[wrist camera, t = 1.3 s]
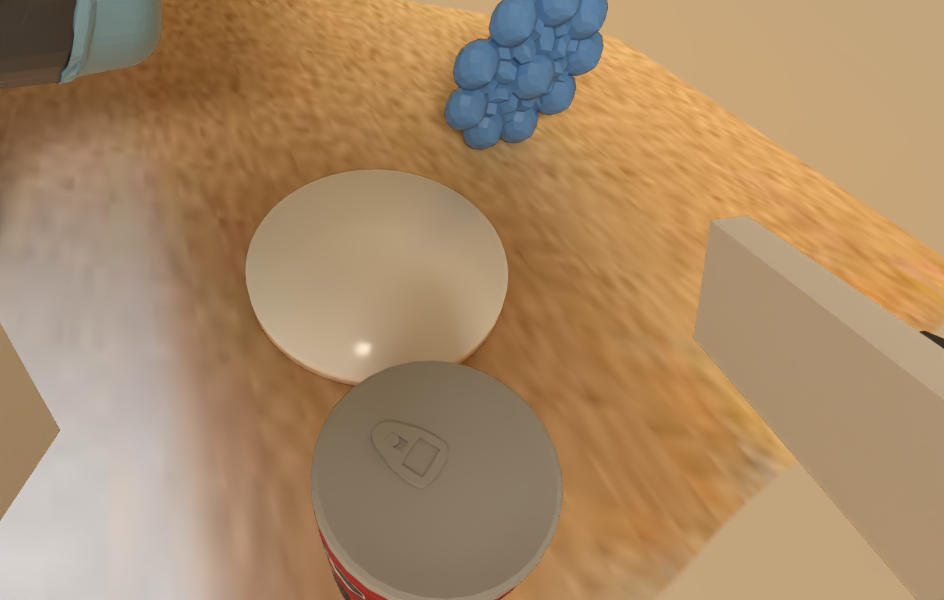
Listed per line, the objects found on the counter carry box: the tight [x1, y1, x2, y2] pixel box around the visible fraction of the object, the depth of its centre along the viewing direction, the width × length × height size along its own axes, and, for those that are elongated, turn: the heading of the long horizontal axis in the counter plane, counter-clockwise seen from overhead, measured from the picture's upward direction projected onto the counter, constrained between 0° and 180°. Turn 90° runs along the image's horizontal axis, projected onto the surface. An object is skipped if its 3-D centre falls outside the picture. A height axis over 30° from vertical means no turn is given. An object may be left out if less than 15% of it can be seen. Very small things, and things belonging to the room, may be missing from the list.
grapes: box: [444, 0, 608, 149], centre depth 39 cm, size 12×7×12 cm, turn 119°
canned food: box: [311, 361, 563, 600], centre depth 23 cm, size 8×8×11 cm
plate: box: [245, 169, 508, 386], centre depth 35 cm, size 15×15×1 cm
